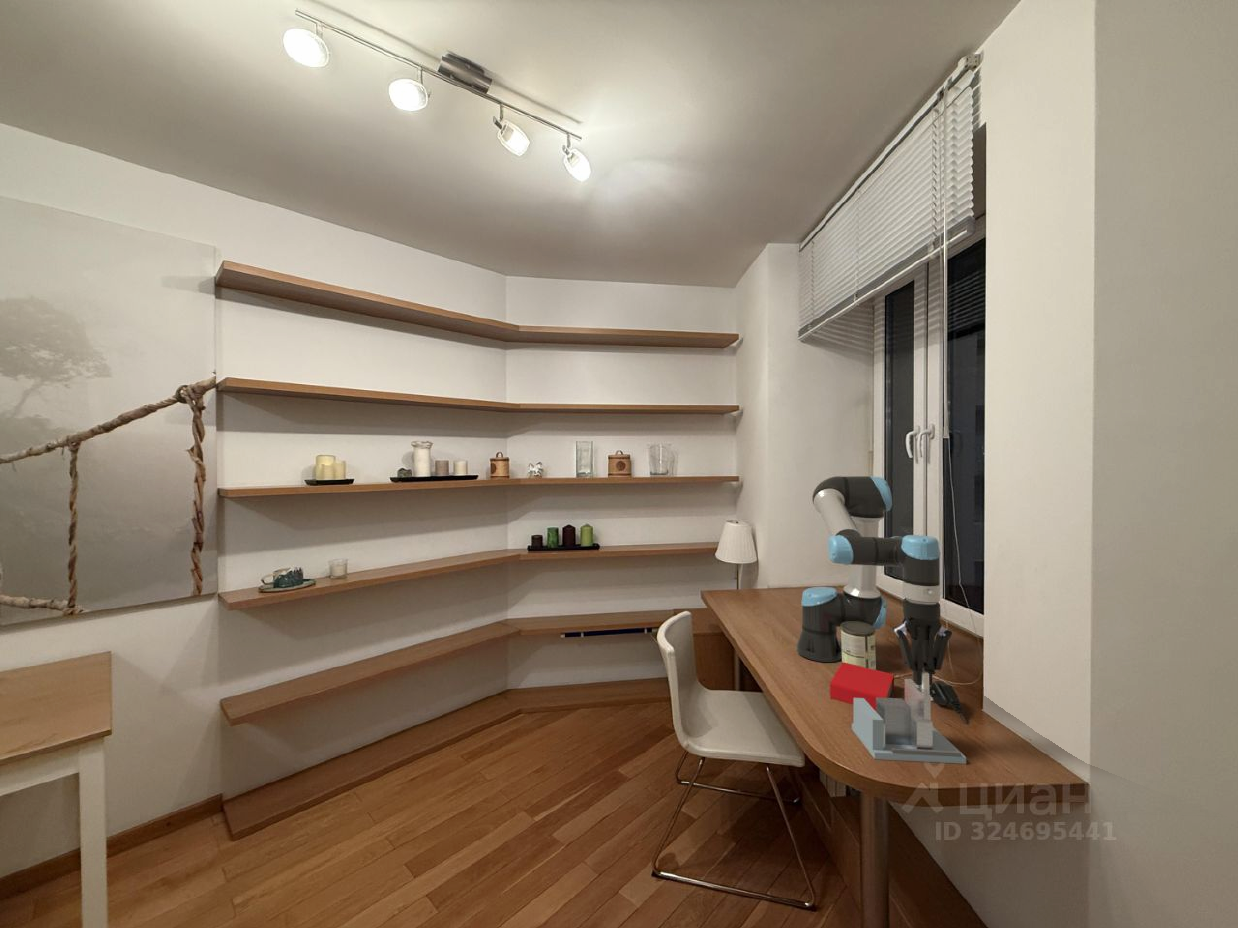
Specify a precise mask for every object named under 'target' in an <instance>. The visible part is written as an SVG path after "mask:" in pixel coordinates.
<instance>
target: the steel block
mask: <svg viewBox="0 0 1238 928" xmlns="http://www.w3.org/2000/svg"><path fill="white" fill-rule="evenodd" d="M876 712H877V713H878V714H879V716H880V717H881V718H882V719H883V720H884V724H885V744H897V745H911V707H910V706H909V705H908V704H907V703H906V702H905V699H903V698H901V697H899V698H898V697H890V698H879V697H876Z"/></svg>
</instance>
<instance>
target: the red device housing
mask: <svg viewBox="0 0 1238 928" xmlns="http://www.w3.org/2000/svg"><path fill="white" fill-rule="evenodd" d="M829 685H830V686H829V687H830V688H829V689H830V690H829V698H830V699H833V700H837V701H840V702H843V703H847V704H850V705H853V706H854V698H864V699H865V700H866V701H867V702H868V703H869V705H870V706H871V707H872V708H873V709H874V710H875V711H876V697H879V698H891V694H892V692H893V691H892V690H895V674H894V673H889V672H885V671H882V670H877V669H876V670H874V669H869V668H865V667H861V666H857V665H853V664H849V663H844V662H842V661H841V664H840V665H839V667H838V669H837V670H836V672H835V673H834V676H832V678H831V680H830V684H829Z"/></svg>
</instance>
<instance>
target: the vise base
mask: <svg viewBox="0 0 1238 928" xmlns="http://www.w3.org/2000/svg"><path fill="white" fill-rule="evenodd" d="M851 730H852V731H853V733H854V735H856V737H857V738H858V739H859V740H860V742H861V744H863V746H864V747H865V749H866V750H867V751H868V752H869V755H871V757H872V758H873V759H874V760H884V761H885V760H887V761H903V762H904V761H905V762H925V763H926V762H927V763H944V764H945V763H946V764H962V765H967V757H966V756H965V755H964V754H963V753H962V752H961V751H960V750H959V749H958V748H957V747H956V746H955V745H954V744H953V743H951V742H950V741H949V740H948V739H947V738H946V737H945V736H944V735H943V734H942V733H941V732H939V730H938V729H936V728H935V727H934V726H933V750H922V749H915V748H914V747H913V746H912V745H897V744H885V724H884V720H883V719H882V718H881V717H880V716H879V714H878V713H877V712H876V711H875V710H874V709H873V708H872V707H871V706H870V705H869V703H868V702H867V701H866V700H865V699H864V698H854V705H853V722H851Z"/></svg>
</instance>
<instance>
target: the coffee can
mask: <svg viewBox="0 0 1238 928" xmlns="http://www.w3.org/2000/svg"><path fill="white" fill-rule="evenodd" d="M875 634H876V629H875V628H874V627H873V626H871V625H869V624H867V623H863V622H858V621H846V622H843V623H841V625H840V638H841V639H840V641H841V643H840V646H841V649H842V659H841V663H842V662H844V663H849V664H853V665H857V666H861V667H865V668H869V669H874V670H877V667H876V666H877V663H876V661H877V660H876V635H875Z"/></svg>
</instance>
